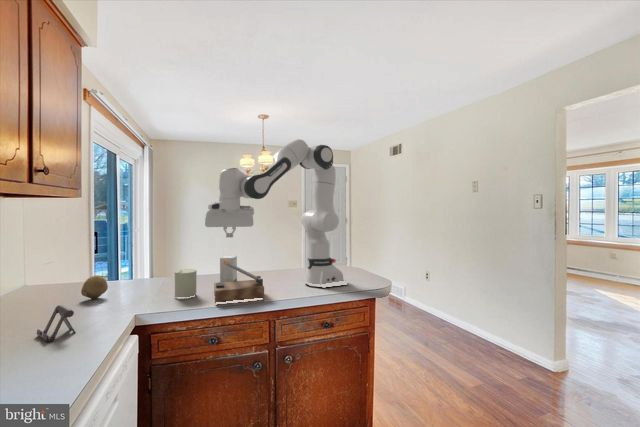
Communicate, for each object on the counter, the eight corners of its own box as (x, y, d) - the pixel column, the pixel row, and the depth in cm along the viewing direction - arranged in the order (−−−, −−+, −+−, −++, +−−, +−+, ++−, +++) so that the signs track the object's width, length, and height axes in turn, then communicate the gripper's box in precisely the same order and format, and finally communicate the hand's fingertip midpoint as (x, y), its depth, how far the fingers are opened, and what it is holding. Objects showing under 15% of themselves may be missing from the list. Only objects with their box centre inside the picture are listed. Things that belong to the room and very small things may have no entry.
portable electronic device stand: (36, 336, 96) (36, 309, 96) (67, 328, 102) (67, 303, 102) (46, 344, 91) (45, 315, 91) (78, 334, 98) (78, 308, 97)
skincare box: (232, 290, 150) (232, 258, 149) (218, 290, 150) (219, 258, 149) (237, 285, 158) (237, 255, 158) (224, 285, 158) (224, 255, 158)
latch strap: (259, 281, 142) (261, 277, 143) (261, 283, 138) (263, 279, 139) (221, 262, 136) (223, 258, 137) (222, 264, 132) (224, 260, 132)
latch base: (258, 292, 147) (258, 274, 147) (264, 300, 134) (264, 281, 134) (214, 295, 140) (214, 277, 140) (215, 305, 127) (215, 284, 127)
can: (169, 297, 137) (169, 270, 137) (187, 292, 145) (187, 267, 145) (183, 300, 133) (183, 272, 132) (201, 295, 141) (201, 269, 140)
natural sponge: (113, 296, 137) (113, 274, 137) (93, 303, 128) (93, 279, 128) (97, 295, 139) (97, 273, 139) (77, 300, 131) (77, 277, 130)
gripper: (252, 205, 141) (252, 236, 142) (204, 205, 134) (204, 237, 135) (255, 205, 135) (254, 237, 136) (204, 205, 128) (204, 238, 129)
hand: (229, 237), depth 135 cm, fingers closed
